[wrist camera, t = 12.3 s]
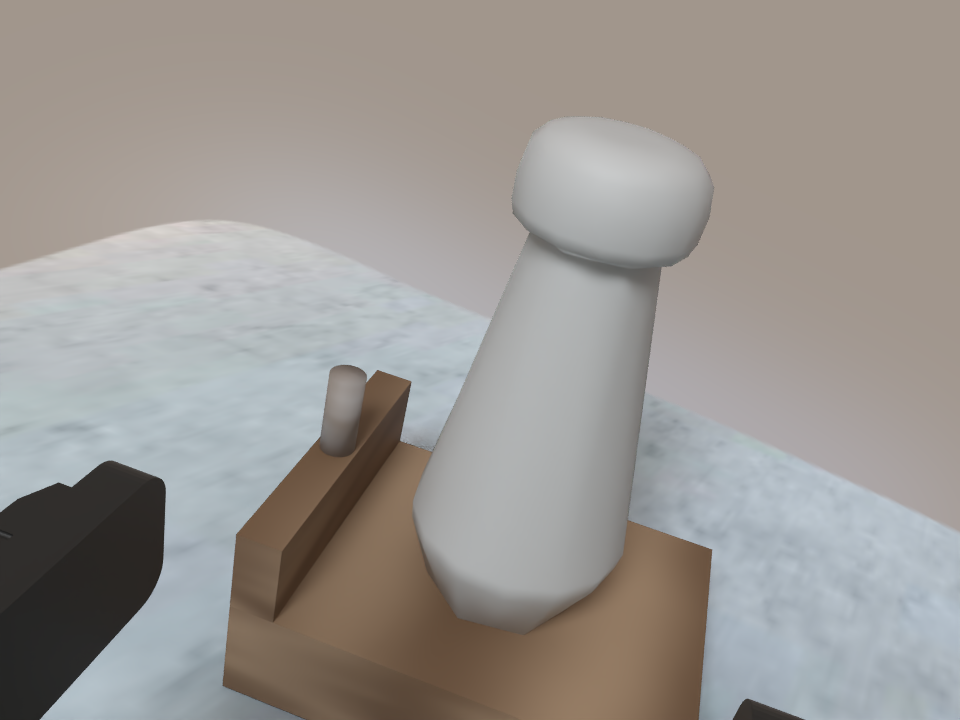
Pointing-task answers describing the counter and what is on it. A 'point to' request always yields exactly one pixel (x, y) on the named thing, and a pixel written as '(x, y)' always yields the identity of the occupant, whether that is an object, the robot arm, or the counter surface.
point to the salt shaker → (560, 376)
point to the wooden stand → (437, 601)
